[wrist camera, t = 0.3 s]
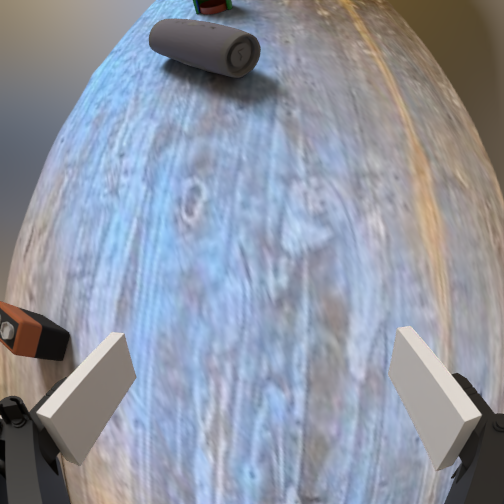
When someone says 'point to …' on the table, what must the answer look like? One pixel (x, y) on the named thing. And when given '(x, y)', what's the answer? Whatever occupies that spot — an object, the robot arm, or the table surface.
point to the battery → (31, 334)
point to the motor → (211, 6)
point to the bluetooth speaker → (206, 46)
